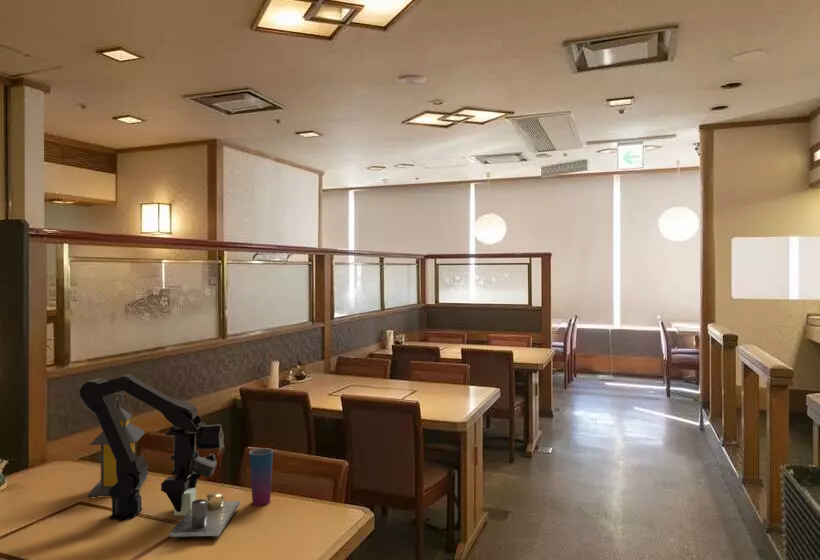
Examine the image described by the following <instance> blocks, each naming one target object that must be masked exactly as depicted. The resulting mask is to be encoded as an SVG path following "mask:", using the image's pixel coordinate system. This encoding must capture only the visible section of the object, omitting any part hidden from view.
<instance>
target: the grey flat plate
mask: <svg viewBox="0 0 820 560" xmlns="http://www.w3.org/2000/svg"><path fill="white" fill-rule="evenodd" d="M240 504H241V502H240V500H232V501H231V500H229V501H228V500H227V501H224V500H223V506H222V507H220V508H216V509H210V508H207V525H206V526H205V527H203V528H193V527H192V508H191V509H190V510H189V512H188V513H187V514H186V515H183V517H182V518H181V519H180V521H179V522H177V524H176V525H175V526H174V527H173V528H172V529H171V531H170V532H169V537H170V538H171V537H172V538H175V540H182V538H183V537H211V539H217V538H218V537H219V535H221V533H222V531H223V530H224V529H225V527H226V526H227V524H228V522H229V521H230V520H231V518H232V516H233V515H234V514H235V512H236V511H237V509H238V508H239V507H240Z"/></svg>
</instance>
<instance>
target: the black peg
mask: <svg viewBox="0 0 820 560" xmlns="http://www.w3.org/2000/svg"><path fill="white" fill-rule="evenodd" d="M206 525H207V499H205V498H203V499H201V498H199V499H196V500H195V501H193V502H192V527H193V528H203V527H205V526H206Z"/></svg>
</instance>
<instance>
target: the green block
mask: <svg viewBox="0 0 820 560" xmlns="http://www.w3.org/2000/svg"><path fill="white" fill-rule="evenodd" d="M195 500H197V487H196V488H188V489H187V490H186V491H185V492H184V495H183V502H182V508H181V511H180V512H177V511H176V510H175V508H174V507H173V516H185V515H186V514H187V513H188V512H189V510H190V509H191V508H192V502H193V501H195Z"/></svg>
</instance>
